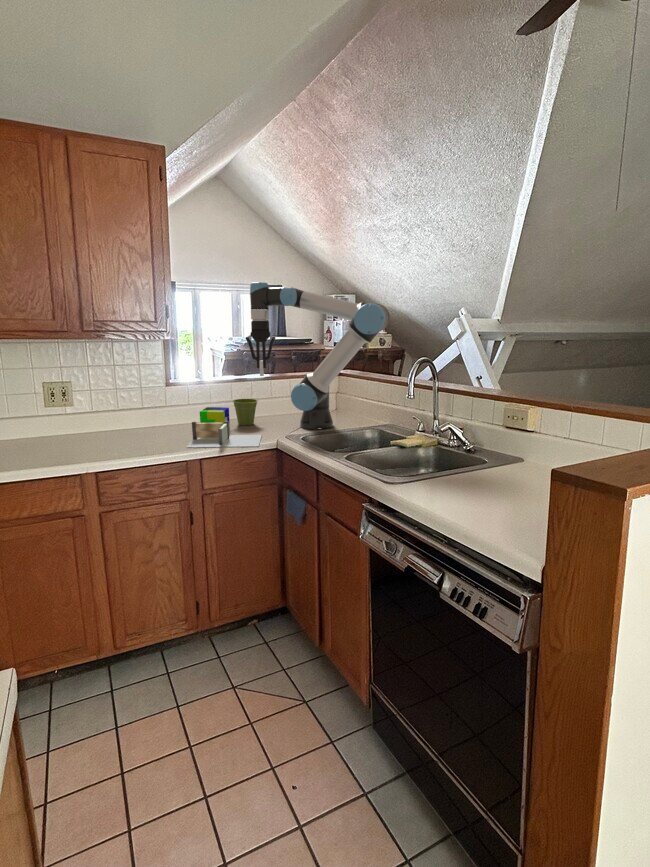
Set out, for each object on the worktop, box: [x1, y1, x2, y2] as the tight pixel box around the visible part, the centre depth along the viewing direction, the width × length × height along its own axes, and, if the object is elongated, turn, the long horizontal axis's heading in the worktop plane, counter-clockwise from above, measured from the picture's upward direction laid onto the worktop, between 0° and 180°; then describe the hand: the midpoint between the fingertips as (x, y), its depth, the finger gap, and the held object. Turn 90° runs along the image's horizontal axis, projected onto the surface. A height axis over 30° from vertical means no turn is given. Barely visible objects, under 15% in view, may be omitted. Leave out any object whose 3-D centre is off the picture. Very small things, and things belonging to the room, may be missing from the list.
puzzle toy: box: [199, 406, 231, 431], centre depth 220 cm, size 10×10×10 cm
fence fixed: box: [191, 421, 230, 440], centre depth 207 cm, size 15×2×8 cm, turn 93°
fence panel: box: [218, 424, 228, 445], centre depth 200 cm, size 11×1×6 cm, turn 179°
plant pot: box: [231, 398, 259, 426], centre depth 234 cm, size 12×12×11 cm
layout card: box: [186, 434, 263, 449], centre depth 205 cm, size 28×18×1 cm, turn 93°
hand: (261, 375), depth 218 cm, fingers closed
